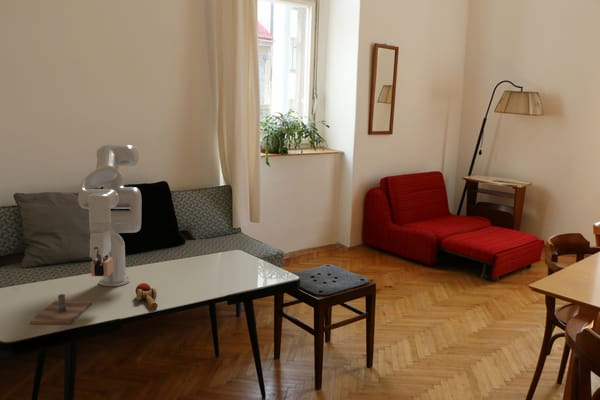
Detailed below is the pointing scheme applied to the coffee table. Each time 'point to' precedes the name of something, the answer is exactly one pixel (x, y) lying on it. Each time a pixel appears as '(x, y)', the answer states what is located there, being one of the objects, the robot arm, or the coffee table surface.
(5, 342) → the coffee table surface
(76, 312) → the post block
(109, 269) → the collar
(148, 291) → the kendama
